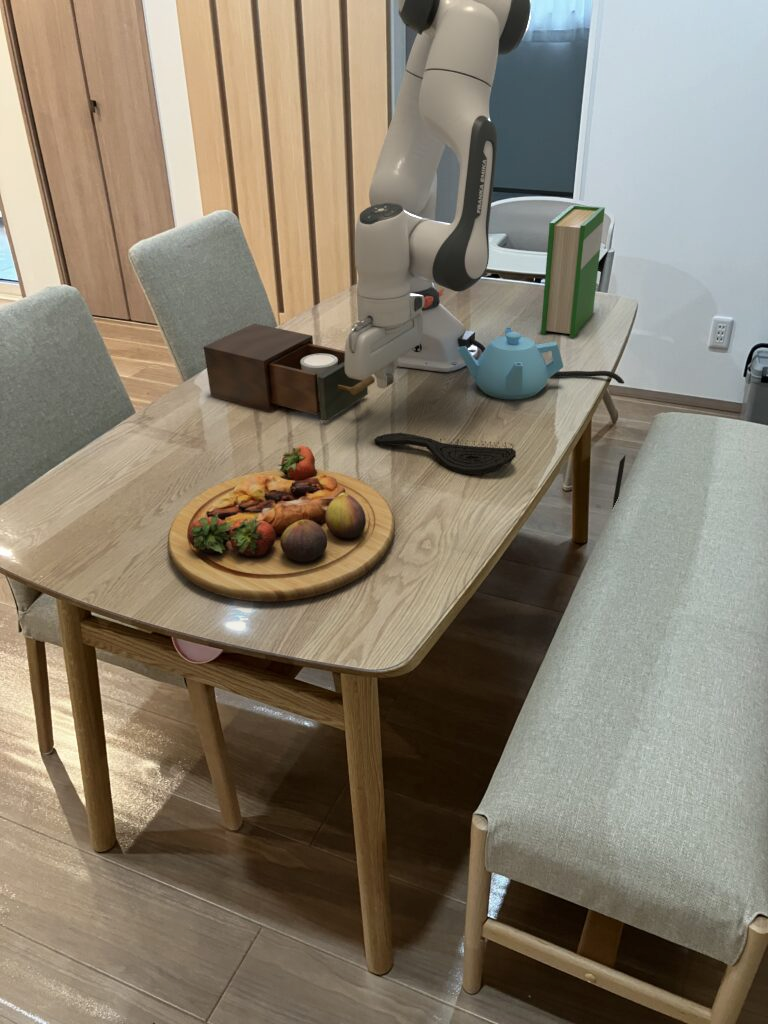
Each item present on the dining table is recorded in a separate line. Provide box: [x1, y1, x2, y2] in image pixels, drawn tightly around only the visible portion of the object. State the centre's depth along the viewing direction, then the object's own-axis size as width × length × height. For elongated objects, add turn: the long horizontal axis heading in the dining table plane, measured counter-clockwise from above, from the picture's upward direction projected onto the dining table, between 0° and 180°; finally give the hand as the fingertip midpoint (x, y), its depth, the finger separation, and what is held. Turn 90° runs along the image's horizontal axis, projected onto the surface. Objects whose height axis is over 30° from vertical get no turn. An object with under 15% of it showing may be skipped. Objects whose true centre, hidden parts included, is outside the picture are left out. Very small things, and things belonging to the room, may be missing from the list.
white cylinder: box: [300, 354, 338, 401], centre depth 153 cm, size 7×7×7 cm
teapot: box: [458, 327, 564, 400], centre depth 157 cm, size 15×15×11 cm
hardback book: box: [540, 204, 606, 339], centre depth 183 cm, size 18×7×24 cm, turn 154°
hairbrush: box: [373, 432, 517, 475], centre depth 136 cm, size 8×4×25 cm
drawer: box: [267, 343, 375, 422], centre depth 152 cm, size 18×13×8 cm
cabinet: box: [203, 322, 314, 413], centre depth 159 cm, size 15×15×10 cm
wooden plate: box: [167, 445, 396, 602], centre depth 116 cm, size 32×32×8 cm
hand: (385, 385), depth 145 cm, fingers closed
